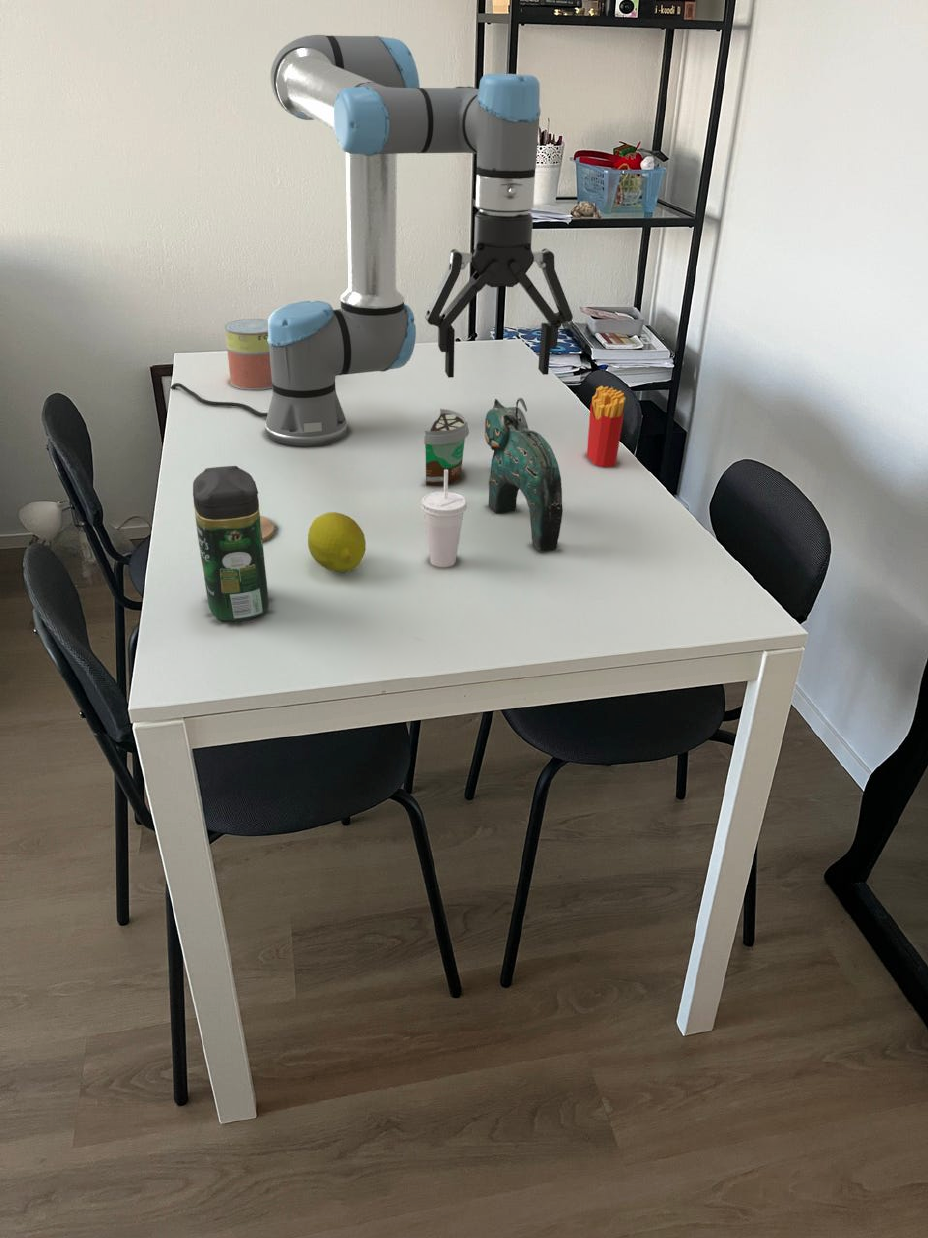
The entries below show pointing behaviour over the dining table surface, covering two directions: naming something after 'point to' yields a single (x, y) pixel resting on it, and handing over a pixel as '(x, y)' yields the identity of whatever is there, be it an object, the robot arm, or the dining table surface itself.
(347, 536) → the lemon
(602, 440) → the french fries
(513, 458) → the ceramic cat
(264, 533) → the cork coaster
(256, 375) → the canned food
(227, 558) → the coffee jar
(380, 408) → the dining table surface
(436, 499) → the white drink cup
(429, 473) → the food container
